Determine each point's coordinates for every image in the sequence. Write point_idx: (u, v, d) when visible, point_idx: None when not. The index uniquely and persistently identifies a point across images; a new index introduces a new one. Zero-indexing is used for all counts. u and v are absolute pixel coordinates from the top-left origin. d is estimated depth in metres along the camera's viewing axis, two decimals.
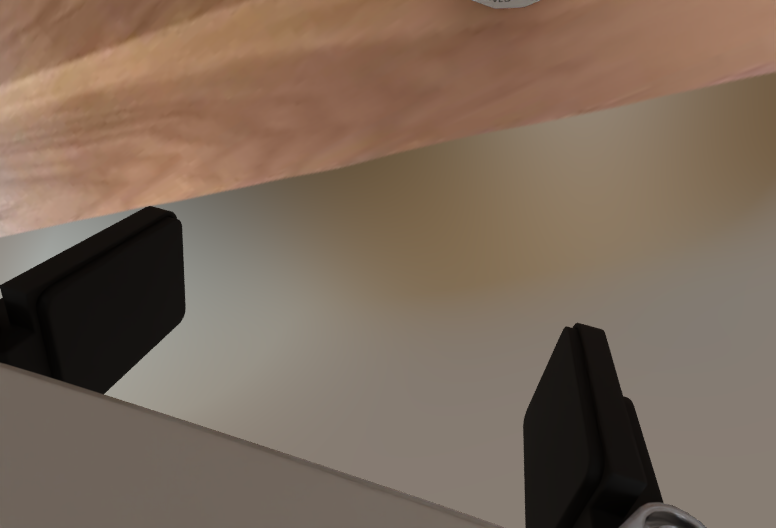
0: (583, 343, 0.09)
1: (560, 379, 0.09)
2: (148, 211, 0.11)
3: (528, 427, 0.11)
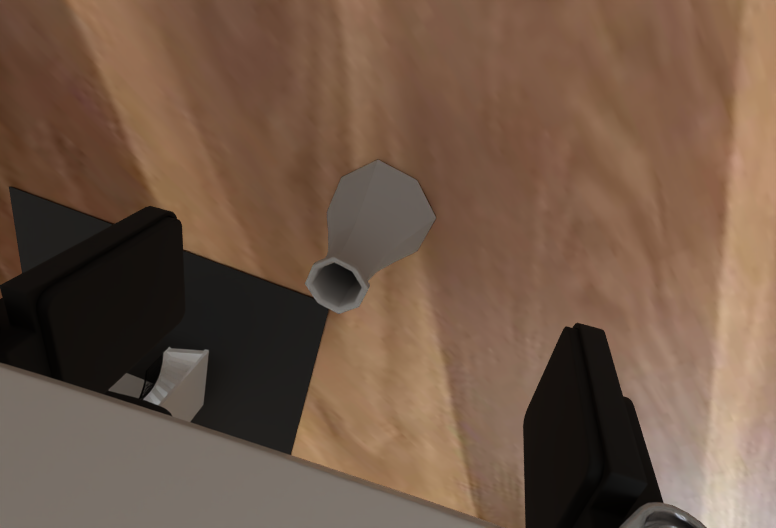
0: (583, 343, 0.09)
1: (560, 379, 0.09)
2: (148, 211, 0.11)
3: (528, 427, 0.11)
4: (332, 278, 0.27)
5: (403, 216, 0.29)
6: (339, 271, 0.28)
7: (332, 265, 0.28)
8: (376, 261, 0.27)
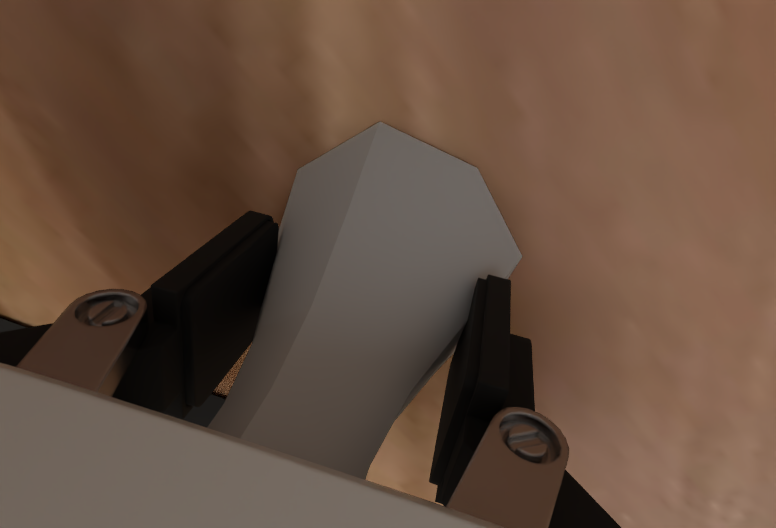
0: (488, 289, 0.11)
1: (468, 322, 0.11)
2: (251, 215, 0.11)
3: (450, 372, 0.12)
4: None
5: (453, 264, 0.11)
6: None
7: None
8: (383, 426, 0.08)
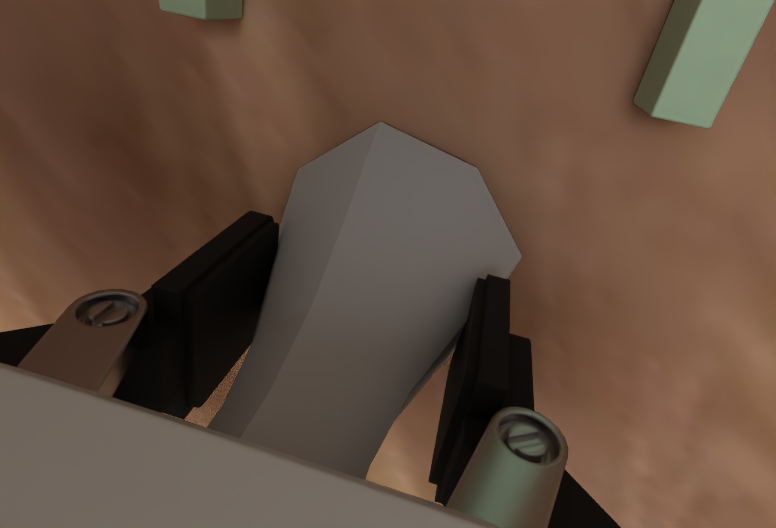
0: (487, 289, 0.11)
1: (468, 322, 0.11)
2: (252, 215, 0.11)
3: (449, 372, 0.12)
4: None
5: (452, 264, 0.11)
6: None
7: None
8: (382, 426, 0.08)
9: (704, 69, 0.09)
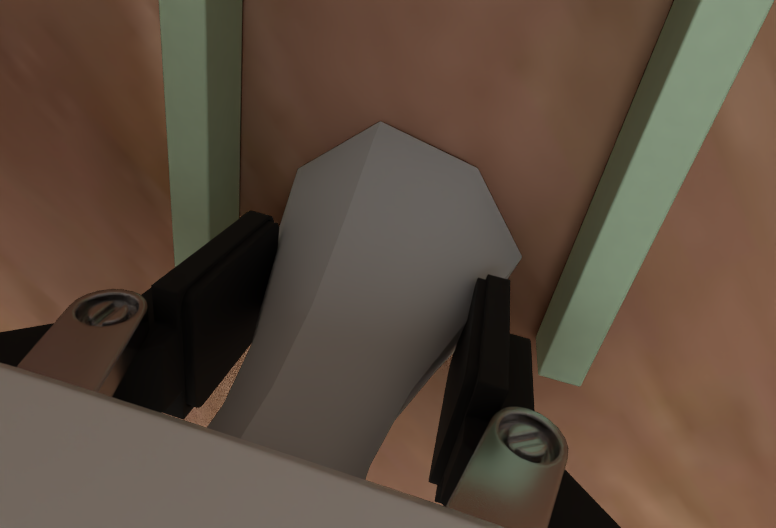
0: (487, 289, 0.11)
1: (468, 322, 0.11)
2: (251, 215, 0.11)
3: (449, 372, 0.12)
4: None
5: (453, 264, 0.11)
6: None
7: None
8: (383, 427, 0.08)
9: (571, 352, 0.13)
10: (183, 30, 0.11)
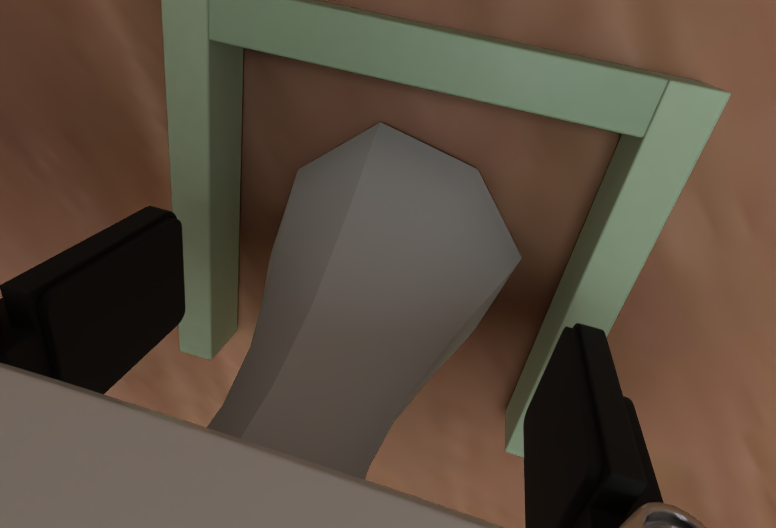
0: (583, 343, 0.09)
1: (560, 379, 0.09)
2: (148, 211, 0.11)
3: (528, 427, 0.11)
4: None
5: (452, 265, 0.11)
6: None
7: None
8: (382, 428, 0.08)
9: None
10: (189, 160, 0.13)
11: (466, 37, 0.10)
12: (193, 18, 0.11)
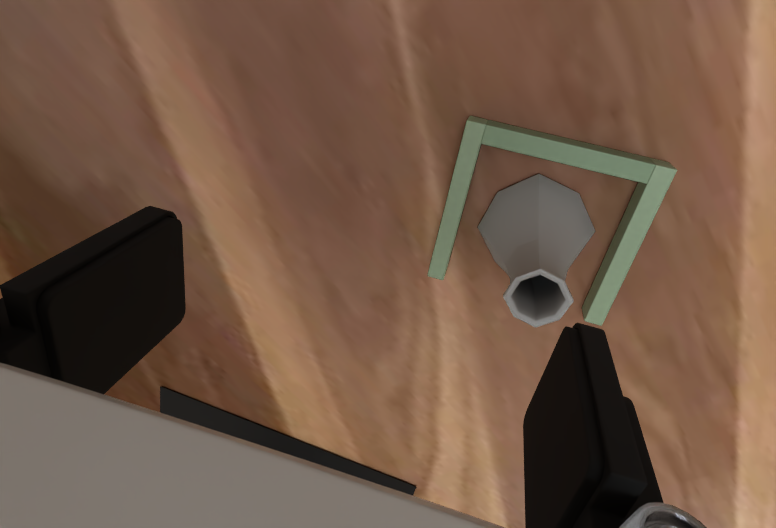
0: (583, 343, 0.09)
1: (560, 379, 0.09)
2: (148, 211, 0.11)
3: (528, 427, 0.11)
4: (517, 291, 0.27)
5: (574, 229, 0.29)
6: (517, 285, 0.28)
7: None
8: (564, 274, 0.26)
9: (598, 311, 0.33)
10: (459, 188, 0.31)
11: (583, 148, 0.28)
12: (476, 136, 0.30)
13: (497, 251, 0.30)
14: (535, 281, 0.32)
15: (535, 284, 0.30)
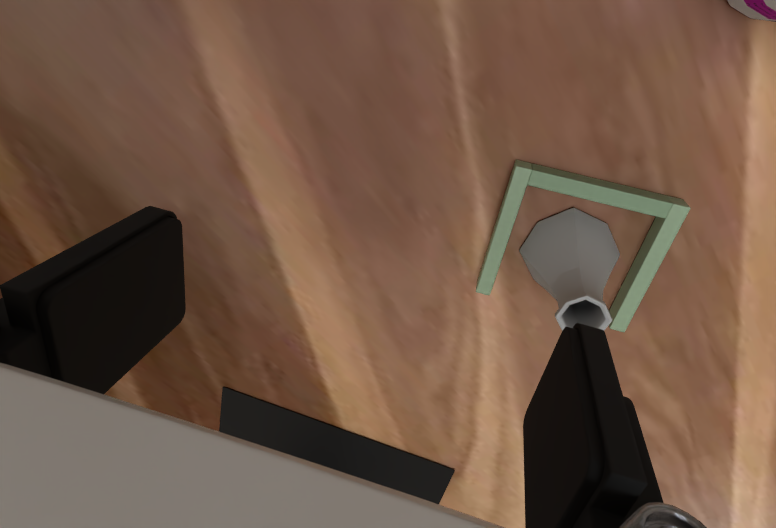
0: (583, 343, 0.09)
1: (560, 379, 0.09)
2: (148, 211, 0.11)
3: (528, 427, 0.11)
4: None
5: (605, 256, 0.35)
6: None
7: (558, 299, 0.34)
8: (601, 296, 0.32)
9: (622, 320, 0.39)
10: (507, 220, 0.37)
11: (614, 189, 0.34)
12: (523, 179, 0.35)
13: (541, 274, 0.36)
14: None
15: None
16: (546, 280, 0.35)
